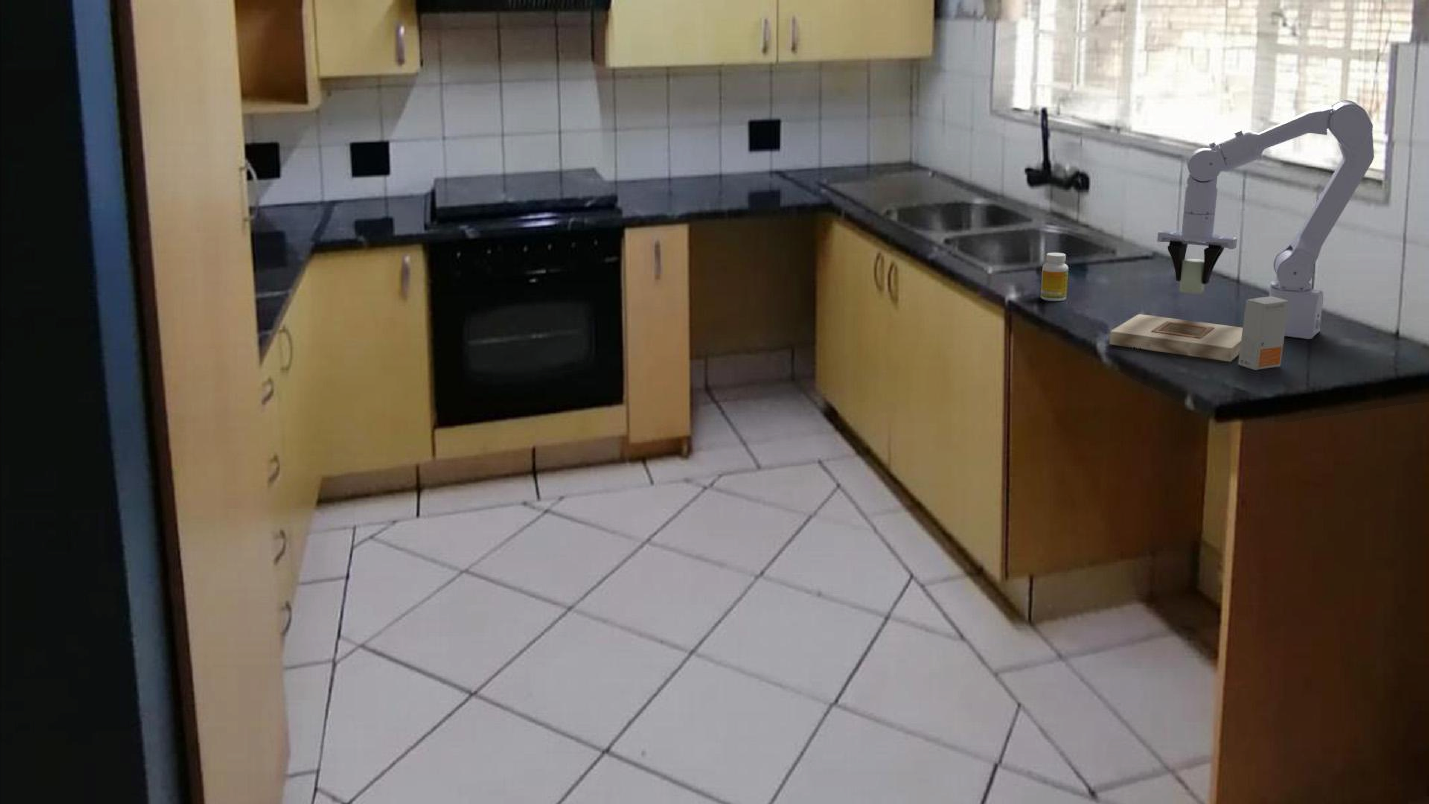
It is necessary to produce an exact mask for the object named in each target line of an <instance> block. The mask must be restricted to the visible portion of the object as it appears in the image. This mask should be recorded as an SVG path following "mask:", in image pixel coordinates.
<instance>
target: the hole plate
mask: <svg viewBox="0 0 1429 804" xmlns="http://www.w3.org/2000/svg"><path fill="white" fill-rule="evenodd" d="M1242 330H1243V326H1242V327H1239V326H1234V325H1232V326H1231V325H1227V324H1217V323H1211V322H1210V323H1209V322H1204V321H1195V320H1187V319H1186V320H1185V319H1180V318H1172V317H1165V316H1157V315H1149V314H1141V313H1139V314H1137V315H1135V316H1133V317H1132V318H1130V319H1128V320H1127V321H1125V322H1124V323H1122V324H1120V325H1118V326H1117V327H1115V328H1114V329H1111V330H1110V333H1109V345H1112V346H1121V347H1127V348H1134V347H1135V348H1134V349H1140V348H1141V349H1140V350H1147V351H1153V352H1161V353H1162V352H1163V353H1166V354H1167V353H1169V354H1173V355H1175V354H1176V355H1182V356H1189V357H1196V358H1202V359H1210V360H1215V361H1223V362H1232V361H1233V360H1235V359H1236V357H1239V353H1240V346H1241V338H1242Z"/></svg>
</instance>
